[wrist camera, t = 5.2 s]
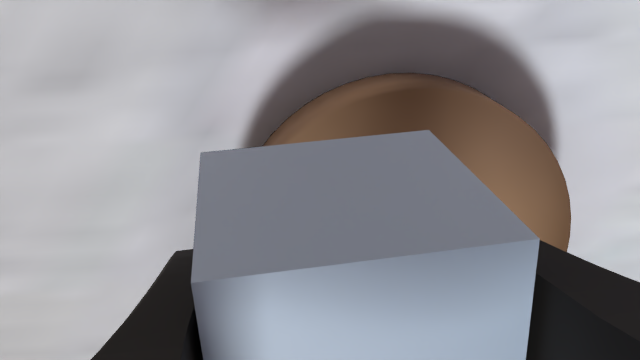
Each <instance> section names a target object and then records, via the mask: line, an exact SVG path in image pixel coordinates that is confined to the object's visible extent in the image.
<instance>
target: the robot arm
mask: <svg viewBox="0 0 640 360" xmlns="http://www.w3.org/2000/svg"><path fill="white" fill-rule="evenodd" d="M192 261H193V249H190V250H182V251H176V252H175V253H174V254H173V256H172V257H171V258H170V260H169V261H168V262H167V264H166V265H165V267H164V268H163V270H162V271H161V273H160V274H159V276H158V277H157V279H156V280H155V282H154V283H153V284H152V286H151V287H150V289H149V290H148V292H147V293H146V294H145V296H144V297H143V298H142V299H141V301H140V302H139V303H138V305H137V306H136V307H135V309H134V310H133V311H132V313H131V314H130V315H129V317H128V318H127V319H126V320H125V321H124V323H123V324H122V325H121V326H120V327H119V329H118V330H117V331H116V332H115V333H114V334H113V335H112V337H111V338H110V339H109V340H108V341H107V342H106V344H105V345H104V346H103V347H102V348H101V349H100V350H99V352H98V353H97V354H96V355H95V356H94V357H93V358H92V359H91V360H203V355H202V349H201V343H200V337H199V330H198V324H197V318H196V312H195V306H194V300H193V293H192V287H191V274H192ZM526 360H640V282H637V281H634V280H632V279H629V278H627V277H624V276H622V275H619V274H617V273H614V272H612V271H609V270H607V269H604V268H602V267H599V266H597V265H595V264H592V263H590V262H588V261H585V260H583V259H581V258H578V257H576V256H574V255H572V254H569V253H567V252H565V251H563V250H561V249H559V248H556V247H554V246H552V245H550V244H548V243H546V242H544V241H541V240H540V242H539V250H538V259H537V267H536V276H535V284H534V293H533V302H532V310H531V319H530V327H529V336H528V345H527V353H526Z"/></svg>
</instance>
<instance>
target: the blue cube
mask: <svg viewBox="0 0 640 360" xmlns="http://www.w3.org/2000/svg"><path fill="white" fill-rule="evenodd" d="M539 242H540V238H538V237H537V236H536V235H535V234H534V233H533V232H532V231H531V230H530V229H529V228H528V227H527V226H526V225H525V224H524V223H523V222H522V221H521V220H520V219H519V218H518V217H517V216H516V215H515V214H514V213H513V212H512V211H511V210H510V209H509V208H508V207H507V206H506V205H505V204H504V203H503V202H502V201H501V200H500V199H499V198H498V197H497V196H496V195H495V194H494V193H493V192H492V191H491V190H490V189H489V188H488V187H487V186H486V185H485V184H483V183H482V182H481V181H480V180H479V179H478V178H477V177H476V176H475V175H474V174H473V173H472V172H471V171H470V170H469V169H468V168H467V167H466V166H465V165H464V164H463V163H462V162H461V161H460V160H459V159H458V158H457V157H456V156H455V155H454V154H453V153H452V152H451V151H450V150H449V149H448V148H447V147H446V146H445V145H444V144H443V143H442V142H441V141H440V140H439V139H438V138H437V137H436V136H435V135H434V134H433V133H432V132H431V131H430V130H422V131H412V132H402V133H392V134H382V135H372V136H362V137H352V138H342V139H332V140H322V141H312V142H302V143H292V144H282V145H272V146H262V147H252V148H242V149H232V150H222V151H212V152H202V153H201V154H200V168H199V181H198V194H197V207H196V221H195V234H194V247H193V261H192V274H191V287H192V293H193V300H194V306H195V312H196V318H197V324H198V330H199V337H200V343H201V349H202V355H203V360H526V353H527V345H528V336H529V327H530V319H531V310H532V302H533V293H534V284H535V276H536V267H537V259H538V250H539Z"/></svg>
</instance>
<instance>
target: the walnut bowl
mask: <svg viewBox="0 0 640 360" xmlns="http://www.w3.org/2000/svg"><path fill="white" fill-rule="evenodd" d="M422 130H430V131H431V132H432V133H433V134H434V135H435V136H436V137H437V138H438V139H439V140H440V141H441V142H442V143H443V144H444V145H445V146H446V147H447V148H448V149H449V150H450V151H451V152H452V153H453V154H454V155H455V156H456V157H457V158H458V159H459V160H460V161H461V162H462V163H463V164H464V165H465V166H466V167H467V168H468V169H469V170H470V171H471V172H472V173H473V174H474V175H475V176H476V177H477V178H478V179H479V180H480V181H481V182H482V183H483V184H485V185H486V186H487V187H488V188H489V189H490V190H491V191H492V192H493V193H494V194H495V195H496V196H497V197H498V198H499V199H500V200H501V201H502V202H503V203H504V204H505V205H506V206H507V207H508V208H509V209H510V210H511V211H512V212H513V213H514V214H515V215H516V216H517V217H518V218H519V219H520V220H521V221H522V222H523V223H524V224H525V225H526V226H527V227H528V228H529V229H530V230H531V231H532V232H533V233H534V234H535V235H536V236H537V237H538V238H540V240H541V241H544V242H546V243H548V244H550V245H552V246H554V247H556V248H559V249H561V250H563V251H565V252H567V248H568V243H569V238H570V225H571V211H570V199H569V194H568V190H567V186H566V181H565V178H564V176H563V173H562V171H561V168H560V166H559V163H558V161H557V159H556V158H555V156H554V155H553V153H552V151H551V150H550V148H549V146H548V145H547V144H546V142H545V141H544V140H543V139H542V138H541V137H540V136H539V134H538V133H537V132H536V131H535V130H534V129H533V128H532V127H531V126H530V125H528V124H527V123H526V122H525V121H524V120H522V119H521V118H520V117H519V116H517V115H516V114H514V113H513V112H511V111H509V110H508V109H506V108H505V107H503V106H502V105H500V104H499V103H497V102H495V101H494V100H492V99H491V98H489V97H487V96H486V95H484V94H482V93H481V92H479V91H477V90H476V89H474V88H472V87H470V86H467V85H465V84H462V83H460V82H457V81H455V80H451V79H447V78H443V77H439V76H435V75H428V74H418V73H393V74H385V75H378V76H372V77H367V78H364V79H360V80H357V81H354V82H350V83H347V84H344V85H342V86H340V87H337V88H335V89H333V90H331V91H328V92H326V93H324V94H322V95H321V96H319V97H317V98H316V99H314V100H312V101H311V102H309V103H307V104H306V105H304V106H303V107H302V108H300V109H299V110H298V111H297V112H295V113H294V114H293V115H292V116H290V117H289V118H288V119H287V120H286V121H285V122H284V123H283V124H282V125H281V126H280V127H279V128H278V129H277V130H276V131H275V132H274V133H273V134H272V135H271V136H270V137H269V139H268V140H267V141H266V143H265V144H264V145H263V146H272V145H282V144H292V143H302V142H312V141H322V140H332V139H342V138H352V137H362V136H372V135H382V134H392V133H402V132H412V131H422Z"/></svg>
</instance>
